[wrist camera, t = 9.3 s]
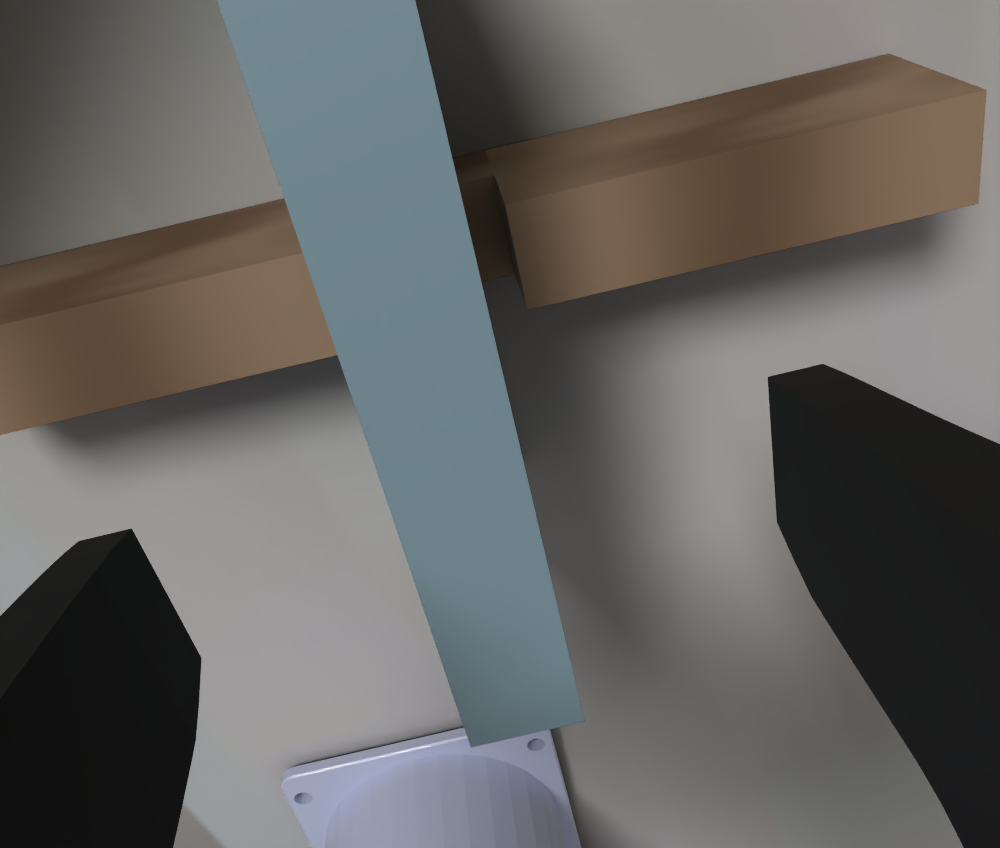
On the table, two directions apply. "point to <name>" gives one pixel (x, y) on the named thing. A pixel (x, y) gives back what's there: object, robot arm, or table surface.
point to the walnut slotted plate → (503, 231)
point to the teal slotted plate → (412, 337)
